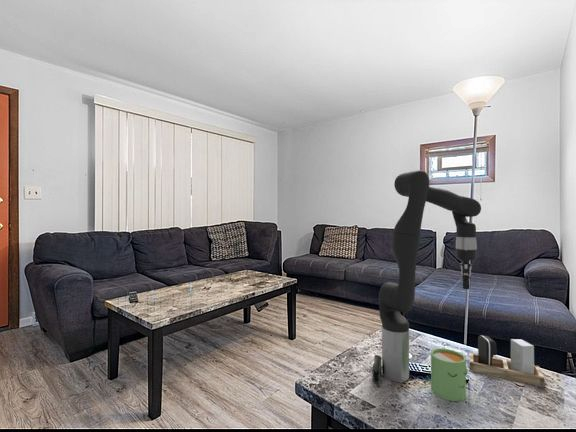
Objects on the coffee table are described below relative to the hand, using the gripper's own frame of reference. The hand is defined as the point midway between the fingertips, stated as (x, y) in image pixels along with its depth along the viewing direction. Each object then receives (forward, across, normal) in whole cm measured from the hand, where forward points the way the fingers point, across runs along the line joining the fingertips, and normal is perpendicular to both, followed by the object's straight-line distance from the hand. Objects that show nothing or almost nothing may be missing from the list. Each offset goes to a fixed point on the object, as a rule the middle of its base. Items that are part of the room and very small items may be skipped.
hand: (466, 286), depth 126 cm
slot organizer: (+28, +10, +12) cm, 32 cm away
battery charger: (+28, +10, +7) cm, 30 cm away
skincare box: (+28, +10, +17) cm, 35 cm away
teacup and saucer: (+29, +11, -22) cm, 38 cm away
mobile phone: (+28, +36, -28) cm, 54 cm away
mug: (+28, +33, -4) cm, 44 cm away
